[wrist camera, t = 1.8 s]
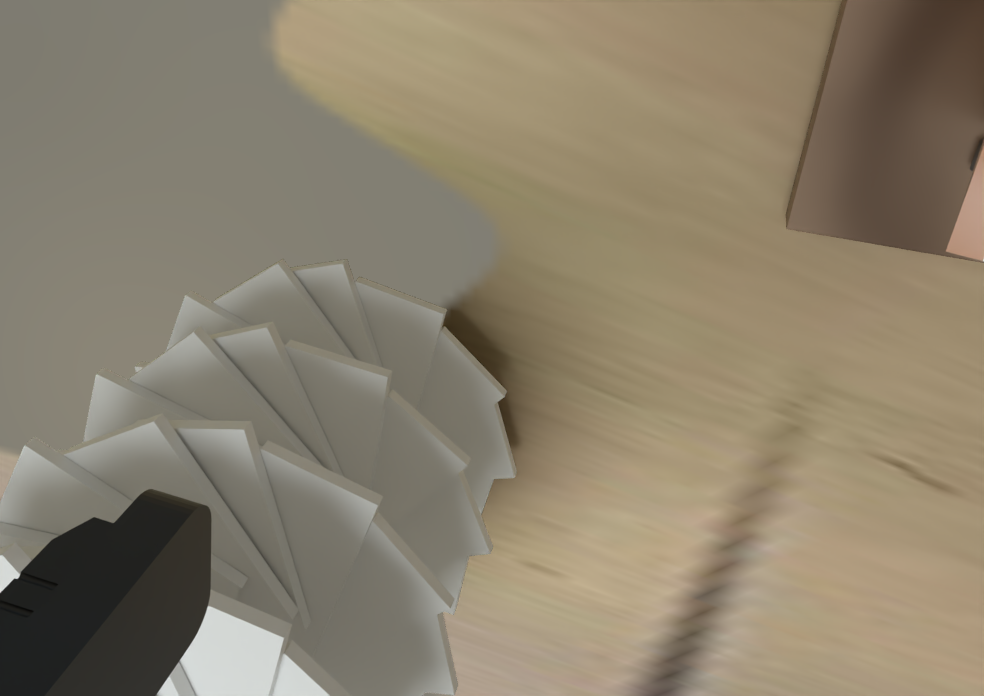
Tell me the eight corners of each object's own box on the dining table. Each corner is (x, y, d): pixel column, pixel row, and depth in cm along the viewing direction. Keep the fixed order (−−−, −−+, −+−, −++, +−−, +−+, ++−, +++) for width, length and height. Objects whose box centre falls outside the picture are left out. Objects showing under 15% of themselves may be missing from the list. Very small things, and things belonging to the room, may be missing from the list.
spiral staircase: (545, 236, 40) (300, 695, 19) (545, 556, 48) (377, 1123, 27) (163, 211, 44) (-390, 564, 23) (225, 510, 53) (-138, 970, 31)
